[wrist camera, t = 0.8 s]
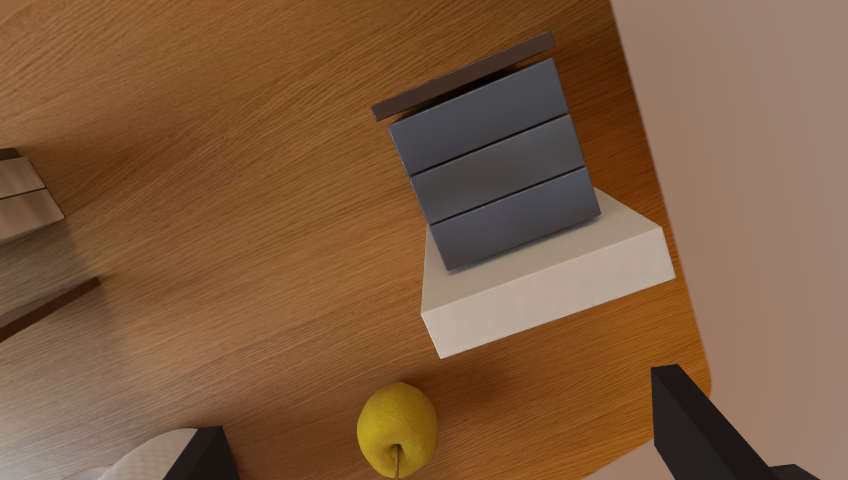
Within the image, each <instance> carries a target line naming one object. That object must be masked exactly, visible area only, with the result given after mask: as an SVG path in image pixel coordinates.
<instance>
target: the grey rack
mask: <svg viewBox="0 0 848 480" xmlns="http://www.w3.org/2000/svg"><path fill="white" fill-rule="evenodd" d="M555 46H556V45H555V42H554V38H553V35H552V32H551V30H548V31H545V32H543V33H541V34H538V35H536V36H534V37H531V38H529V39H527V40H524V41H522V42H520V43H517V44H515V45H513V46H510V47H508V48H505V49H503V50H501V51H498V52H496V53H494V54H491V55H489V56H487V57H484V58H482V59H480V60H477V61H475V62H473V63H470V64H468V65H466V66H463V67H461V68H458V69H456V70H454V71H451V72H449V73H447V74H444V75H442V76H440V77H437V78H435V79H433V80H430V81H428V82H426V83H423V84H421V85H419V86H416V87H414V88H411V89H409V90H407V91H404V92H402V93H400V94H397V95H395V96H393V97H390V98H388V99H386V100H383V101H381V102H379V103H376V104H374V105H371V106H370V108H371V110H372V113H373V115H374V117H375V120H376V121H377V122H378V121H380V120H383V119H385V118H388V117H390V116H392V115H395V114H397V113H400V112H402V111H404V110H407V109H409V108H411V107H414V106H416V105H419V104H421V103H423V102H426V101H428V100H430V99H433V98H435V97H438V96H440V95H442V94H445V93H447V92H450V91H452V90H454V89H457V88H459V87H461V86H464V85H466V84H469V83H471V82H473V81H476V80H478V79H480V78H483V77H485V76H488V75H490V74H492V73H495V72H497V71H500V70H502V69H504V68H507V67H509V66H511V65H514V64H516V63H519V62H521V61H523V60H526V59H528V58H530V57H533V56H535V55H538V54H540V53H542V52H545V51H547V50H550V49H552V48H554V47H555ZM567 112H569V108H568V104H567V101H566V98H565V95H564V91H563V88H562V85H561V82H560V79H559V75H558V72H557V69H556V66H555V63H554V59H553V58H549V59H546V60H542V61H539V62H536V63H532V64H529V65H526V66H522V67H519V68H516V69H512V70H509V71H507V72H504V73H502V74H500V75H497V76H495V77H492V78H490V79H488V80H485V81H483V82H480V83H478V84H476V85H473V86H471V87H468V88H466V89H464V90H461V91H459V92H457V93H454V94H452V95H449V96H447V97H445V98H442V99H440V100H437V101H435V102H433V103H430V104H428V105H425V106H423V107H421V108H418V109H416V110H414V111H411V112H409V113H406V114H405V115H403V116H402V117H400V118H399V119H397V120H396V121H395V122H393V123H392V124H390V125H389V126H388V130H389V133H390V135H391V137H392V140H393V142H394V145H395V147H396V150H397V152H398V154H399V157H400V159H401V162H402V164H403V166H404V169H405V171H406V174H407V175H408V176H410V177H409V181H410V183H411V186H412V188H413V190H414V193H415V195H416V198H417V200H418V202H419V205H420V207H421V210H422V212H423V214H424V217H425V219H426V222H427V224H428V225H429V229H430V231H431V234H432V236H433V239H434V241H435V243H436V246H437V248H438V251H439V253H440V255H441V258H442V260H443V263H444V265H445V267H446V270H447V271H450V270H453V269H456V268H458V267H461V266H464V265H466V264H469V263H472V262H475V261H477V260H480V259H483V258H485V257H488V256H491V255H494V254H496V253H499V252H502V251H504V250H507V249H510V248H512V247H515V246H518V245H521V244H523V243H526V242H529V241H531V240H534V239H537V238H540V237H542V236H545V235H548V234H550V233H553V232H556V231H559V230H561V229H564V228H567V227H569V226H572V225H575V224H578V223H580V222H583V221H586V220H588V219H591V218H594V217H596V216H599V215H601V211H600V207H599V204H598V201H597V198H596V194H595V191H594V188H593V185H592V182H591V178H590V175H589V172H588V169H587V167H585V166H583V165H585V163H586V162H585V159H584V156H583V153H582V150H581V146H580V143H579V140H578V137H577V133H576V130H575V127H574V124H573V121H572V117H571V115H570V114H565V113H567Z"/></svg>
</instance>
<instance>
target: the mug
mask: <svg viewBox="0 0 848 480" xmlns="http://www.w3.org/2000/svg"><path fill="white" fill-rule="evenodd" d="M197 430H198V429H193V428H183V429H177V430H173V431H170V432H167V433H164V434H160V435H158V436H157V437H154V438H152V439H150V440H148V441H147V442H146V443H143V444H141V445H140V446H138V447H137V448H136V449H134V450H132V451H130V452H129V453H128V454H127V455H126V456H125V457H123V458H121V459H120V460H119V461H117V462H116V463H115V464H109V465H102V466H96V467H92V468H88V469H85V470H81V471H79V472H76V473H74V474H72V475H69V476H67V477H65V478H63V479H61V480H163V478H164V477H165V475H166V474H167V472H168V471H169V470H170V468H171V467H172V465H173V464H174V463H175V461H176V460H177V458H178V457H179V455H180V454H181V453H182V451H183V450H184V448H185V447H186V446H187V444H188V443H189V441H190V440H191V438H192V437H193V436H194V434H195V433H196V431H197Z"/></svg>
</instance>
